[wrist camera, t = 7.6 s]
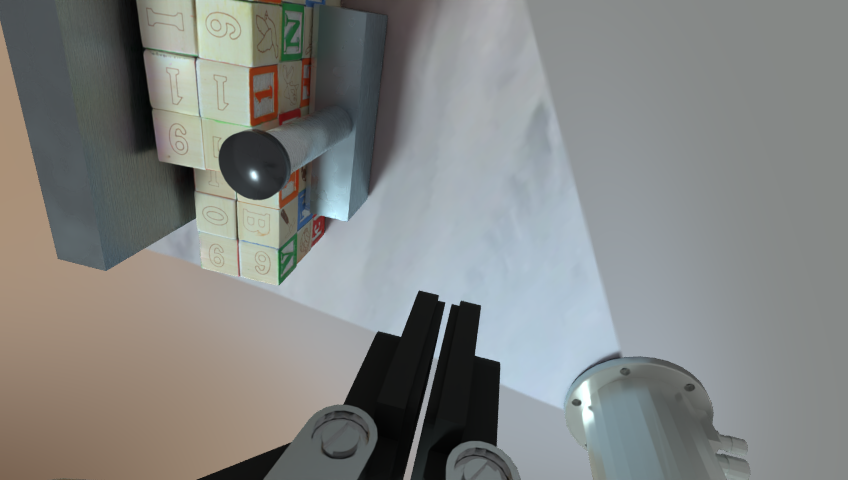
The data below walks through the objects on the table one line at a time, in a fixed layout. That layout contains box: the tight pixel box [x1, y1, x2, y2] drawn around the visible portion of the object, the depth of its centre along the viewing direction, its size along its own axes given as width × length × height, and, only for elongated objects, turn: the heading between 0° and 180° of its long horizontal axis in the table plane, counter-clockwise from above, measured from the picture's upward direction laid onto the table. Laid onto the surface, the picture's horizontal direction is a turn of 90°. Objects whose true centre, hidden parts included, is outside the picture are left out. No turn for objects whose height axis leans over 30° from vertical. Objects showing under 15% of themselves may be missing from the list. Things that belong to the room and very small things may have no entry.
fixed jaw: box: [0, 0, 196, 271], centre depth 29 cm, size 8×18×16 cm, turn 171°
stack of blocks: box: [136, 0, 341, 286], centre depth 30 cm, size 21×6×12 cm, turn 171°
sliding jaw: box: [218, 3, 388, 222], centre depth 28 cm, size 4×14×16 cm, turn 171°
